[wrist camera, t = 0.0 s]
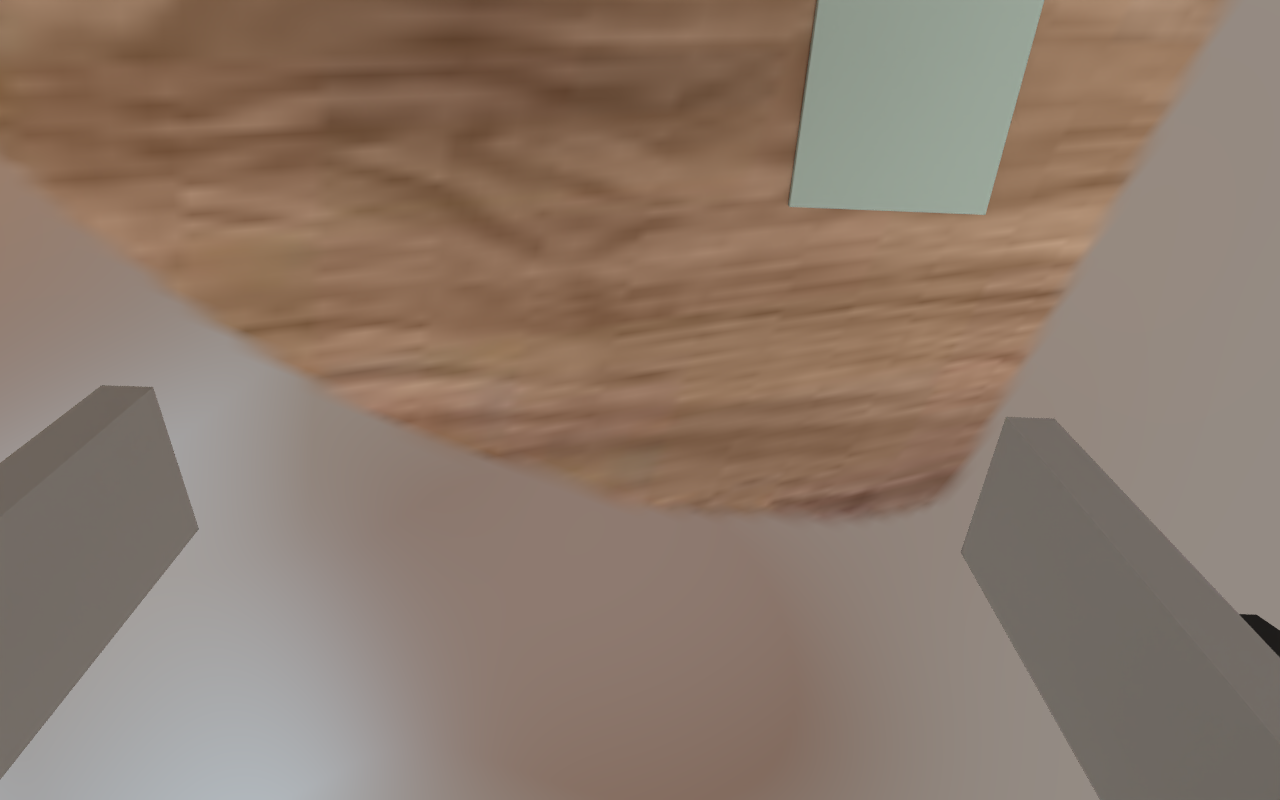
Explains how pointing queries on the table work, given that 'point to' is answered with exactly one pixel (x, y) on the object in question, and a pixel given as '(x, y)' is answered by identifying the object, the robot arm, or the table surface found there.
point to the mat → (909, 103)
